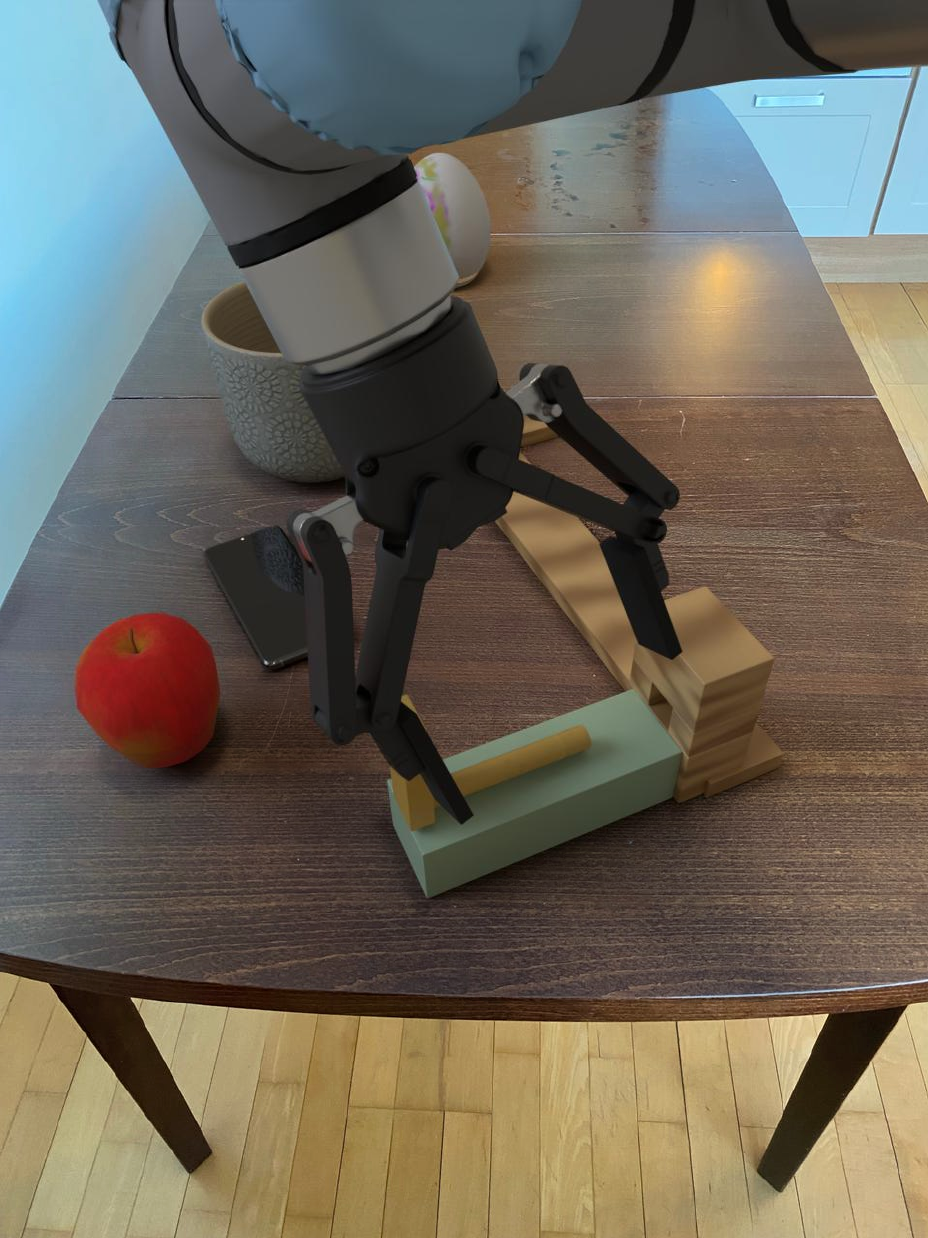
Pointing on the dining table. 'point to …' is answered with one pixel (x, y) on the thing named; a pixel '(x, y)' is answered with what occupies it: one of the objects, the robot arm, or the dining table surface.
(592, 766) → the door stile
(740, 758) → the wooden beam with block
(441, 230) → the decorative egg
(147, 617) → the apple
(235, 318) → the planter
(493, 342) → the dining table surface
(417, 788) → the bolt
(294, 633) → the smartphone
